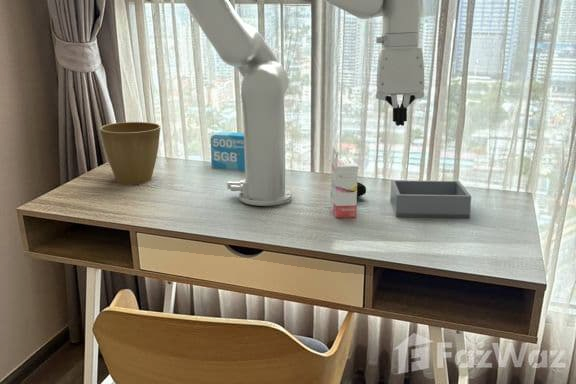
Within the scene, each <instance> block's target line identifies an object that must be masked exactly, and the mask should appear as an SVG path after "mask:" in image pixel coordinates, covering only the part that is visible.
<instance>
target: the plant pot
mask: <svg viewBox="0 0 576 384" xmlns="http://www.w3.org/2000/svg"><path fill="white" fill-rule="evenodd" d="M99 131H100V134H101V139H102V143H103V148H104V150H105V154H106V157H107V159H108V163H109V165H110V168H111V171H112V173H113V176H114V178H115V180H116V182H117V183H118V184H120V185H127V186H131V185H132V186H134V185H141V184H145V183H148V182H149V181H151V179H152V177H153V174H154V170H155V166H156V161H157V157H158V151H159V146H160V145H159V144H160V135H161V125H160V124H158V123H154V122H145V121H144V122H143V121H124V122H123V121H121V122H115V123H109V124H104V125H102V126H101V127H100V128H99Z"/></svg>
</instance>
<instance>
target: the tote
mask: <svg viewBox="0 0 576 384" xmlns="http://www.w3.org/2000/svg"><path fill="white" fill-rule="evenodd" d="M389 199H390V203H391V207H392V210H393V212H394V215H395V218H433V219H434V218H435V219H436V218H437V219H438V218H439V219H440V218H442V219H443V218H444V219H446V218H447V219H470V217H471V215H470V214H471V204H472V203H471V202H472V195H471V194H470V192H469V191H468V190H467V189H466V188H465V186H464V185H463V184H462V183H461V182H460V180H412V179H411V180H408V179H407V180H406V179H405V180H403V179H402V180H401V179H400V180H399V179H398V180H397V179H394V180H393V179H392V180H390V198H389Z"/></svg>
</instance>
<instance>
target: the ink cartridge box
mask: <svg viewBox="0 0 576 384" xmlns="http://www.w3.org/2000/svg"><path fill="white" fill-rule="evenodd" d="M331 153H332V154H331V161H330V162H331V164H330V166H331V168H330V199H329V200H330V202H329V203H330V205H329V206H330V209H331V211H332V213H333V215H334V217H335V218H336V219H337V218H338V219H339V218H340V219H341V218H342V219H343V218H345V219H346V218H357V207H358V206H357V201H358V197H357V182H358V175H359V173H358V171H359V166H358V164H357V163H356V161H354V159H353V158H352V157H343V158H339V151H338V150H337V148H336V146H334V145H333V146H332V152H331Z"/></svg>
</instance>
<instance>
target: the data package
mask: <svg viewBox="0 0 576 384" xmlns="http://www.w3.org/2000/svg"><path fill="white" fill-rule="evenodd" d="M210 159H211V160H210V161H211V164H210V165H211V168H212V169H213V168H214V169H222V170H230V171H231V170H234V171H240V172H241V171H242V172H245V148H244V132H234V131H233V132H232V131H219V132H216V133H215V134H212V136H211V137H210Z"/></svg>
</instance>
